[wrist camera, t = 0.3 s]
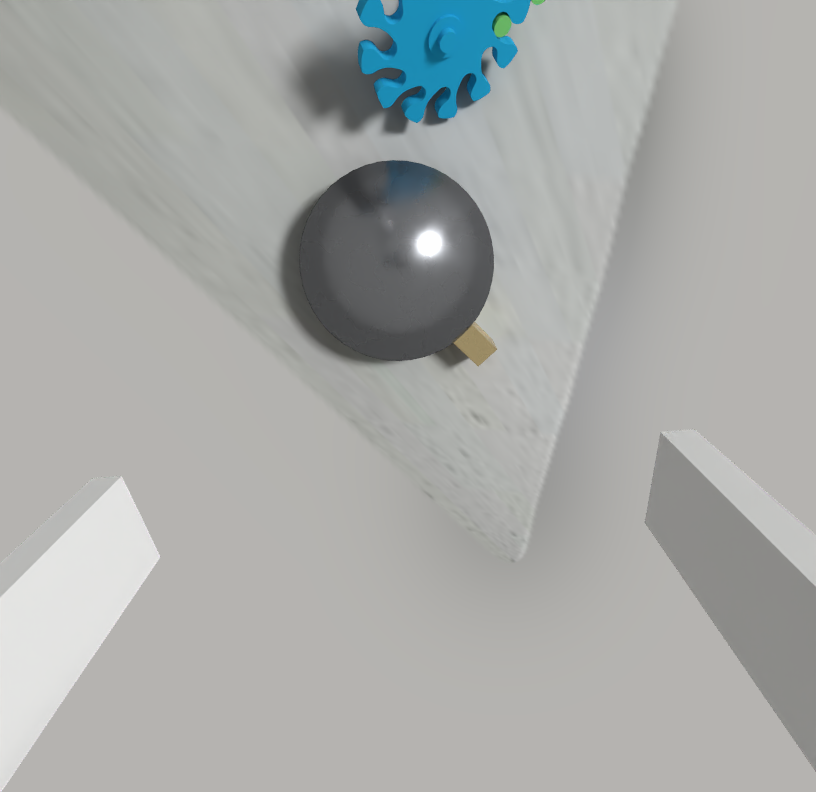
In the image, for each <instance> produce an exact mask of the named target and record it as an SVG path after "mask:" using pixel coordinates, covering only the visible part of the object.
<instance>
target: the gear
mask: <svg viewBox="0 0 816 792" xmlns="http://www.w3.org/2000/svg"><path fill="white" fill-rule="evenodd" d="M530 1H532V2H533V3H534V4H535V5H539V4H541V3H543V2H544V1H545V0H399V6H398V9H397V11H396V12H395V13H394V14H393V15H390V16H387V15H385V14H384V9H383V5H382V3H381V1H380V0H359V2H358V5H357V7H356V11H357V13H358V15H359V18H360V20H361V22H362V23H363V24H364V25H365V26H368V27H376V28H380V29H382V30H384V31H385V32H387V33H388V34H389V35H390V36H391V37H392V39H393V44H392V46H391V48H390V49H389V50H387V51H380V50H379V49H378V48H377V47H376V46H375V45H374V43H373V42H371V41H369V40H363V41H361V42H360V43H359V47H358V63H359V66H360V68H361V71H362V73H364V74H372V73H374V72H376V71H377V70H380V69H383V68H396V69H400V70H402V73H401V75H400V76H399V77H398V78H397V79H388V78H380V79H378V80H377V81H376V82H375V83H374V88H375V91H376V94H377V96H378V99H379V101H380V103H381V105H382V106H383V108H388V107H390V106H392V105H393V103H394V102H395V100H396V99H397V98H398V97H399V96H400V95H401V94H402V93H403V92H405V91H407V90H409V89H411V88H414V87H417V86H422V87H421V90H420V91H419V92H418V93H417V94H414V95H411V96H409V97H407V98H406V99H405V100H404V101H403V102H402V105H401V107H402V110H403V112H404V114H405V116H406V117H407V118H408V119H409V120H411V121H413V122H416V123H418V122H419V121H420V120H421V119H422V118H423V115H424V110H425V108H426V105H427V103H428V101H429V100H430V99H431V97H432V96H433V95H434V94H435V93H436V92H437V91H438V90H439V89H440V88H442V87H446V90H445V91H444V92H443V93H442V94H441V95H440V96H439V97H438V98H437V100H436V102H435V110H436V112H437V114H438V117H439V118H452V117H454V116H455V115H456V113H457V105H456V94H457V90H458V88H459V85H460V83H461V81H462V79H463V77H464V76H465V75H467V74H469V73H472V74H471V76H470V79H469V81H468V83H467V91H468V93H469V94H470V96H471V98H472V100H473V101H476V100H479V99H481V98H482V97H484V96H485V95H487V94H488V93H489V92H490V84H489V83H488V81H487V79H486V77H485V76H484V74H482V71H481V58H482V54H483V52H484V51H485V50H486V49H487V48H489V47H493V49H492V54H493V57H494V59H495V61H496V62H497V64H498V66H499V67H501V68H505V67H506V66H507V65H508V64H509V63H510V62H511V60H512V59H513V58H514V56H515V55H516V53H517V52H518V50H517V47H516V46H515V44H514V42H513V41H512V39H511V38H510V37H508V36H505V35H506V34H507V33H508V32H509V30H510V28H511V21H512V22H513V23H514V24H520V23H522V22H523V21H524V19H525V17H526V15H527V12H528V9H529V6H530Z"/></svg>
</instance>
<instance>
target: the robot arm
mask: <svg viewBox="0 0 816 792" xmlns="http://www.w3.org/2000/svg"><path fill="white" fill-rule="evenodd" d="M645 524H646V525H647V527H648V528H649V530H650V531H651V532H652V534H653V535H654V537H655V538H656V540H657V541H658V543H659V544H660V546H661V547H662V548H663V550H664V551H665V553H666V554H667V556H668V557H669V559H670V560H671V561H672V563H673V564H674V566H675V567H676V569H677V570H678V571H679V573H680V575H681V576H682V578H683V579H684V580H685V582H686V583H687V585H688V586H689V588H690V589H691V591H692V592H693V594H694V595H695V596H696V598H697V599H698V601H699V602H700V604H701V605H702V607H703V608H704V609H705V611H706V612H707V614H708V615H709V617H710V618H711V620H712V621H713V623H714V624H715V626H716V627H717V629H718V630H719V631H720V633H721V634H722V636H723V637H724V639H725V640H726V641H727V643H728V645H729V646H730V647H731V649H732V650H733V652H734V653H735V655H736V656H737V658H738V659H739V661H740V662H741V663H742V665H743V666H744V667H745V669H746V671H747V672H748V674H749V675H750V676H751V678H752V679H753V681H754V682H755V684H756V685H757V687H758V688H759V690H760V691H761V692H762V694H763V695H764V697H765V698H766V700H767V701H768V703H769V704H770V706H771V707H772V708H773V710H774V712H775V713H776V714H777V716H778V717H779V719H780V720H781V722H782V723H783V725H784V726H785V728H786V729H787V730H788V732H789V733H790V735H791V736H792V738H793V739H794V741H795V742H796V744H797V745H798V746H799V748H800V749H801V751H802V752H803V754H804V755H805V757H806V758H807V760H808V761H809V762H810V764H811V765H812V767H813V768H814V770H815V771H816V534H814V533H813V532H812V531H811V530H810V529H808V528H807V527H806V526H805V525H804V524H803V523H802V522H801V521H799V520H798V519H797V518H796V517H795V516H793V515H792V514H791V513H790V512H789V511H788V510H787V509H786V508H784V507H783V506H782V505H781V504H780V503H779V502H777V501H776V500H775V499H774V498H773V497H772V496H771V495H770V494H768V493H767V492H766V491H765V490H764V489H762V488H761V487H760V486H759V485H758V484H757V483H756V482H754V481H753V480H752V479H751V478H750V477H749V476H748V475H746V474H745V473H744V472H743V471H742V470H741V469H739V468H738V467H737V466H736V465H735V464H734V463H733V462H732V461H730V460H729V459H728V458H727V457H726V456H725V455H723V454H722V453H721V452H720V451H719V450H718V449H717V448H715V447H714V446H713V445H712V444H711V443H710V442H708V441H707V440H706V439H705V438H704V437H703V436H702V435H700V434H699V433H698V432H697V431H696V430H695V429H691V430H679V431H667V432H661V433H660V439H659V445H658V450H657V456H656V461H655V467H654V473H653V479H652V484H651V490H650V496H649V502H648V507H647V513H646V519H645ZM159 558H160V555H159V553H158V551H157V549H156V547H155V545H154V543H153V541H152V539H151V536H150V534H149V532H148V530H147V528H146V526H145V524H144V522H143V520H142V518H141V515H140V513H139V511H138V509H137V507H136V505H135V503H134V501H133V499H132V497H131V494H130V492H129V491H128V488H127V486H126V484H125V482H124V480H123V478H122V476H116V477H103V478H92V479H91V480H90V481H89V482H88V483H87V484H86V485H85V486H84V487H82V489H80V490H79V491H78V492H77V493H76V494H75V495H74V496H73V497H72V498H70V499H69V500H68V501H67V502H66V503H65V504H64V505H63V506H62V507H61V508H60V509H58V511H56V512H55V513H54V514H53V515H52V516H51V517H50V518H49V519H48V520H46V521H45V522H44V523H43V524H42V525H41V526H40V527H39V528H38V529H37V530H36V531H34V532H33V533H32V534H31V535H30V536H29V537H28V538H27V539H26V540H25V541H24V542H23V543H21V544H20V545H19V546H18V547H17V548H16V549H15V550H14V551H13V552H12V553H11V554H9V555H8V556H7V557H6V558H5V559H4V560H3V561H2V562H1V563H0V792H1V791H2V790H3V788H4V787H5V786H6V784H7V783H8V781H9V779H10V778H11V777H12V775H13V774H14V772H15V771H16V769H17V768H18V766H19V765H20V763H21V762H22V760H23V759H24V758H25V756H26V755H27V753H28V751H29V750H30V748H31V747H32V746H33V744H34V743H35V741H36V740H37V738H38V737H39V735H40V734H41V732H42V731H43V729H44V728H45V727H46V725H47V724H48V722H49V721H50V719H51V718H52V716H53V715H54V713H55V712H56V710H57V709H58V707H59V706H60V704H61V703H62V701H63V700H64V698H65V697H66V696H67V694H68V692H69V691H70V690H71V688H72V687H73V685H74V684H75V682H76V681H77V679H78V678H79V676H80V675H81V673H82V672H83V670H84V669H85V667H86V666H87V664H88V663H89V661H90V660H91V658H92V657H93V656H94V654H95V653H96V651H97V649H98V648H99V647H100V645H101V644H102V642H103V641H104V639H105V638H106V636H107V635H108V633H109V632H110V631H111V629H112V627H113V626H114V625H115V623H116V622H117V620H118V619H119V617H120V615H121V614H122V613H123V611H124V610H125V608H126V607H127V605H128V604H129V602H130V601H131V600H132V598H133V597H134V595H135V593H136V592H137V591H138V589H139V588H140V586H141V585H142V583H143V582H144V580H145V579H146V577H147V576H148V574H149V573H150V571H151V570H152V569H153V567H154V566H155V564H156V563H157V561H158V560H159Z"/></svg>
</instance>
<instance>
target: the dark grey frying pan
mask: <svg viewBox="0 0 816 792" xmlns="http://www.w3.org/2000/svg"><path fill="white" fill-rule="evenodd" d="M299 260H300V274H301V279H302V284H303V287H304V290H305V294H306V297H307V299H308V301H309V303H310V305H311V307H312V309H313V311H314V313H315V314H316V316H317V317H318V319H319V320H320V322H321V323H322V324H323V325H324V326H325V328H326V329H327V330H328V331H329V332H330V333H331V334H332V335H333V336H334V337H335V338H337V339H338V340H339V341H341V342H342V343H343V344H345V345H346V346H348V347H350V348H352V349H353V350H355V351H357V352H360V353H362V354H364V355H367V356H371V357H374V358H378V359H384V360H395V361H402V360H413V359H417V358H422V357H425V356H428V355H431V354H434V353H436V352H438V351H440V350H442V349H444V348H446V347H447V346H449V345H450V344H452V343H454V344H455V345H456V346H457V347H458V348H459V349H460V350H461V351H462V352H463V353H465V354H466V355H467V356H468V357H469V358H470V359H471V360H472V361H473V362H474V363H475V364H476V365H477V366H479V365H480V364H481V363H483V362H484V361H485V360H486V359H487V358H488V357H489V356H490V355H491V354H492V353H494V352H495V351H496V350H497V348H496V346H495V344H494V342H493V340H492V339H491V338H490V337H489V336H488V335H487V334H486V333H485V332H484V331H483V330H482V329H481V328H480V327H479V326H478V325H477V324H476V323H475V322H474V321H475V320H476V318H477V317H478V316H479V314H480V312H481V310H482V308H483V306H484V305H485V302H486V299H487V297H488V294H489V291H490V287H491V283H492V277H493V269H494V254H493V247H492V240H491V237H490V233H489V229H488V226H487V224H486V222H485V219H484V217H483V215H482V213H481V211H480V210H479V208H478V206H477V205H476V203H475V202H474V201H473V199H472V198H471V197H470V195H469V194H468V193H467V192H466V191H465V190H464V189H463V188H462V187H461V186H460V185H459V184H458V183H456V182H455V181H454V180H452V179H451V178H450V177H448V176H447V175H445V174H443V173H441V172H440V171H438V170H436V169H434V168H431V167H428V166H425V165H423V164H419V163H414V162H409V161H395V160H392V161H382V162H376V163H372V164H368V165H365V166H362V167H360V168H358V169H355V170H353V171H351V172H350V173H348V174H346V175H345V176H343V177H341V178H340V179H339V180H338V181H336V182H335V183H334V184H333V185H332V186H330V187H329V188H328V189H327V191H326V192H325V193H324V194H323V195H322V196H321V197H320V199H319V200H318V202H317V203H316V205H315V206H314V208H313V209H312V211H311V214H310V216H309V218H308V220H307V222H306V225H305V228H304V231H303V235H302V240H301V245H300V259H299Z"/></svg>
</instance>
